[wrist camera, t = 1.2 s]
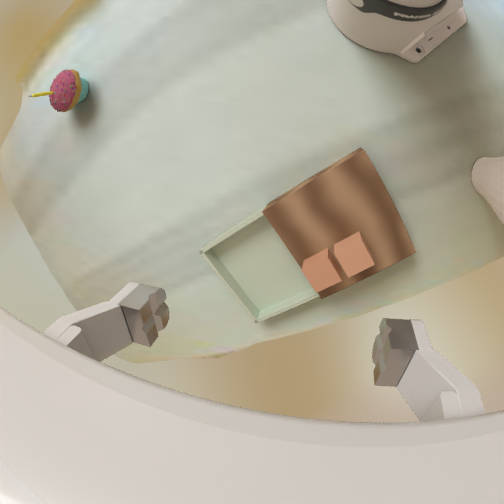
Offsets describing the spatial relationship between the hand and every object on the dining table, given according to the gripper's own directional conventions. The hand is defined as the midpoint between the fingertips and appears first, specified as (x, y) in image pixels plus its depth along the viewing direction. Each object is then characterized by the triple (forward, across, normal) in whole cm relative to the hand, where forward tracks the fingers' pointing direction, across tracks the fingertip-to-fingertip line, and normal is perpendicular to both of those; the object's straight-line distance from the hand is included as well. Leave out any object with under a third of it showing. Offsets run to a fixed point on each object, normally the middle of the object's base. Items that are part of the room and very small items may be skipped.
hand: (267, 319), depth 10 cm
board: (+32, -5, +7) cm, 33 cm away
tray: (+32, +7, +16) cm, 36 cm away
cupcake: (+32, +43, -18) cm, 56 cm away
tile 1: (+28, -2, +13) cm, 31 cm away
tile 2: (+28, -7, +10) cm, 31 cm away
